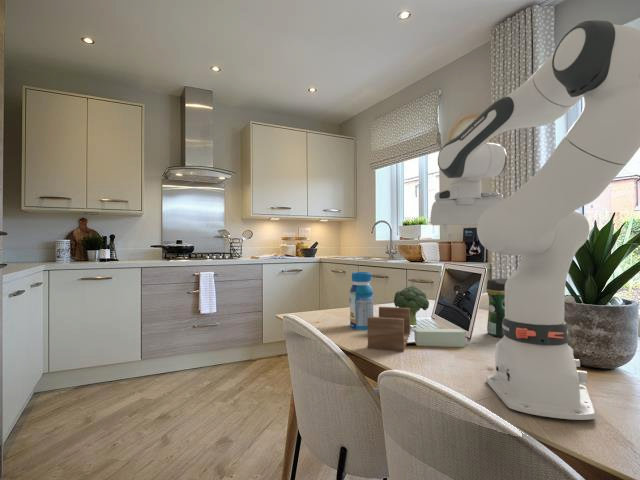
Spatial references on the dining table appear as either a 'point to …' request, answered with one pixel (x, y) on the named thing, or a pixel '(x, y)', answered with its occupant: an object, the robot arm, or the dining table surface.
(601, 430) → the dining table surface
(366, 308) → the beverage bottle
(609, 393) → the dining table surface
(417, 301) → the vegetable
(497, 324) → the coffee jar
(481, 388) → the dining table surface
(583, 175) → the robot arm
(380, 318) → the wooden napkin holder
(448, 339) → the pale green rectangular bar
